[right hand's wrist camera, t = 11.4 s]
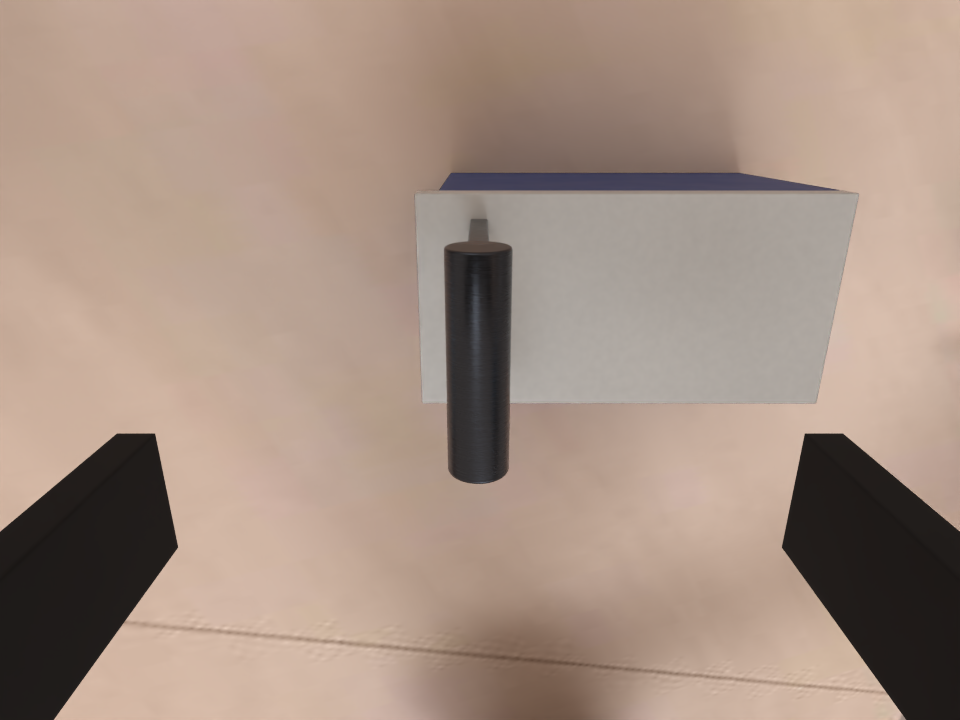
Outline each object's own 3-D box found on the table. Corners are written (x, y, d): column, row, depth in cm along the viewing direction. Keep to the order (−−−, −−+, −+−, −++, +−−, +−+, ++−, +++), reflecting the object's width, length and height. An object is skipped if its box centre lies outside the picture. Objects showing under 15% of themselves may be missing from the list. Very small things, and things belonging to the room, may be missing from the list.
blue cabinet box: (452, 324, 39) (442, 392, 29) (450, 173, 36) (437, 190, 26) (719, 324, 39) (802, 392, 29) (740, 172, 36) (842, 190, 26)
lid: (424, 392, 29) (399, 507, 20) (417, 190, 26) (384, 221, 17) (803, 393, 29) (942, 507, 20) (842, 190, 26) (1029, 222, 17)
